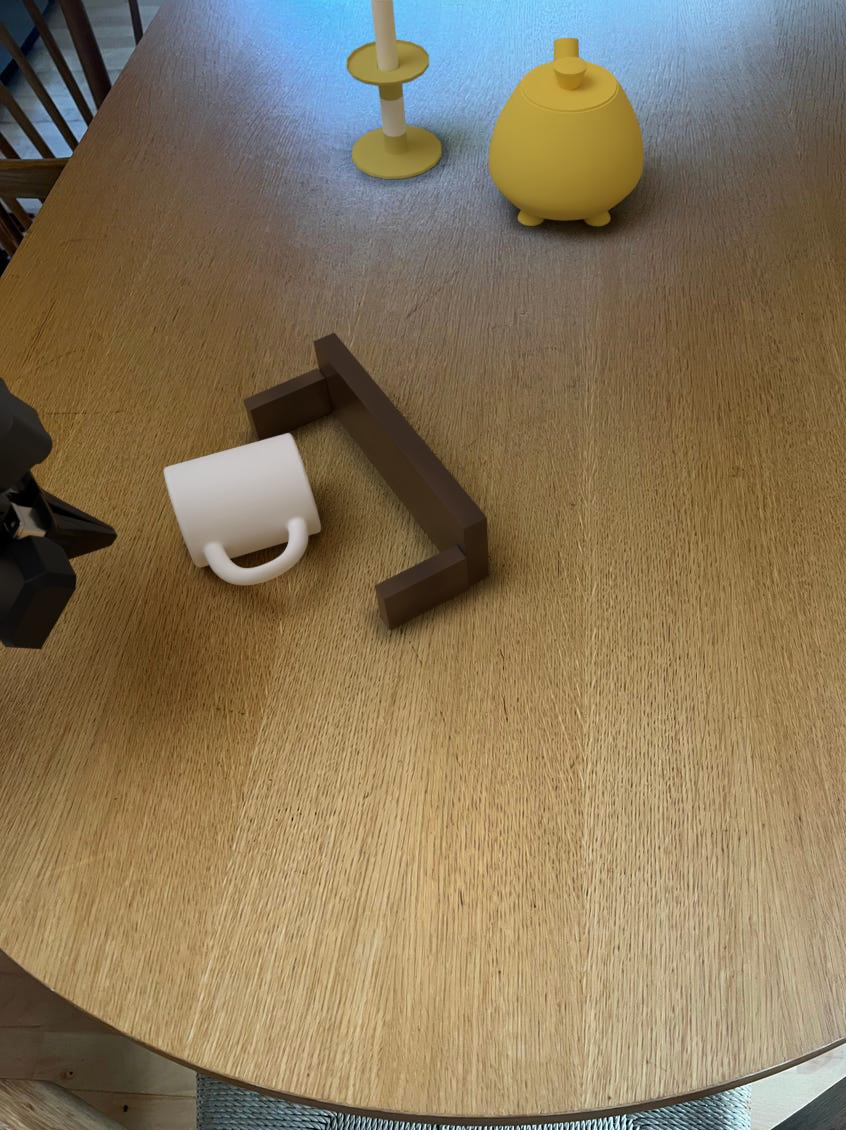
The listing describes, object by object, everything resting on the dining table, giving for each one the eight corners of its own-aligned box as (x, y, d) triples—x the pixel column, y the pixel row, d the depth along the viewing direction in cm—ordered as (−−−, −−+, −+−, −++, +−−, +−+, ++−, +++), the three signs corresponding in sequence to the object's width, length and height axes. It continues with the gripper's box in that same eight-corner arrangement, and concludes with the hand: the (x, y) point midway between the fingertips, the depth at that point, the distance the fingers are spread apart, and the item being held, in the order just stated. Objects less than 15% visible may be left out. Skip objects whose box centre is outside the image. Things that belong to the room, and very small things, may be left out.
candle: (433, 182, 108) (412, -115, 85) (342, 176, 109) (297, -119, 86) (449, 130, 113) (434, -162, 91) (362, 124, 114) (325, -166, 92)
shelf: (389, 630, 76) (379, 574, 70) (252, 433, 88) (234, 371, 82) (490, 578, 79) (489, 519, 73) (344, 393, 90) (333, 330, 85)
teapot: (494, 132, 113) (491, -1, 101) (635, 132, 112) (648, -2, 100) (485, 244, 102) (482, 108, 90) (642, 245, 101) (658, 108, 89)
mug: (184, 515, 83) (155, 446, 76) (302, 481, 85) (284, 411, 78) (215, 628, 77) (186, 564, 70) (341, 589, 79) (325, 522, 72)
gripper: (-30, 491, 52) (222, 537, 64) (-120, 294, 60) (116, 367, 73) (-107, 647, 56) (142, 661, 68) (-180, 441, 65) (52, 487, 77)
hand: (113, 536), depth 71 cm, fingers closed
